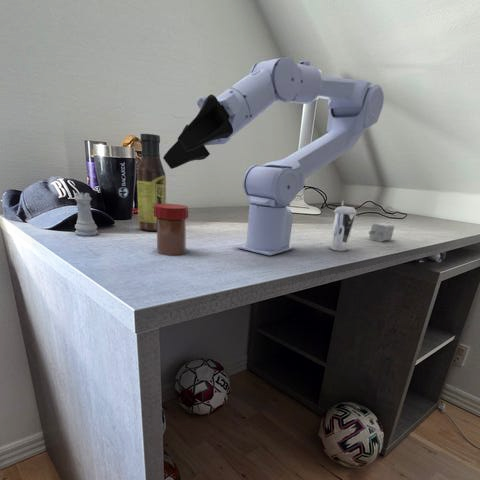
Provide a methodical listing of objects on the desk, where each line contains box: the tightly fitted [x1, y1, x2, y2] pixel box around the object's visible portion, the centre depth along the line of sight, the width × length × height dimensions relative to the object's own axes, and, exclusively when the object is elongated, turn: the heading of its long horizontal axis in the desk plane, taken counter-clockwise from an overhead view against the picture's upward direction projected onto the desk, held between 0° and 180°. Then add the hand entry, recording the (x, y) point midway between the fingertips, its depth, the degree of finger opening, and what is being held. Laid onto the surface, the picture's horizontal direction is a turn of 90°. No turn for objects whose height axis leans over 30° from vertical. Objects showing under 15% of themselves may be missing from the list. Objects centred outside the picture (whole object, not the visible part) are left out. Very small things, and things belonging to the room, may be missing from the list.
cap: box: [154, 203, 189, 220], centre depth 61 cm, size 6×6×2 cm
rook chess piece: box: [73, 192, 99, 237], centre depth 70 cm, size 4×4×8 cm
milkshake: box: [330, 200, 357, 252], centre depth 75 cm, size 5×5×10 cm
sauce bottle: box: [136, 133, 167, 232], centre depth 77 cm, size 7×6×20 cm
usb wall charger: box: [368, 222, 395, 242], centre depth 89 cm, size 4×7×4 cm, turn 132°
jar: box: [156, 218, 187, 256], centre depth 62 cm, size 5×5×8 cm
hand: (174, 154), depth 51 cm, fingers open, 7 cm apart
